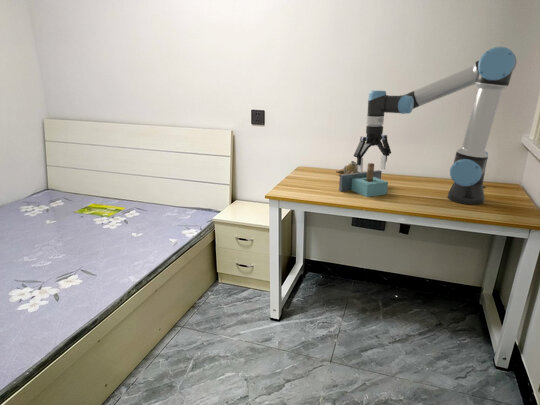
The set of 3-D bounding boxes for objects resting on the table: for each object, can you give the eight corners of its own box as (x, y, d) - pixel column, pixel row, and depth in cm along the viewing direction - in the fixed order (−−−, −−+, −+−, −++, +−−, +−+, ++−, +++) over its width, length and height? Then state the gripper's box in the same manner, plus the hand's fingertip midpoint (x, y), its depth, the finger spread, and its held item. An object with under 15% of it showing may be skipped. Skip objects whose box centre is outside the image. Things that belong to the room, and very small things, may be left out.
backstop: (380, 186, 202) (381, 170, 199) (341, 191, 192) (342, 175, 189) (377, 185, 203) (379, 170, 201) (338, 190, 194) (339, 174, 191)
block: (386, 194, 189) (388, 181, 187) (366, 197, 184) (367, 184, 182) (371, 187, 199) (372, 176, 197) (351, 190, 194) (352, 178, 193)
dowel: (373, 192, 191) (375, 164, 186) (368, 193, 190) (370, 165, 185) (369, 190, 194) (371, 162, 189) (364, 191, 192) (366, 163, 187)
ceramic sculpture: (368, 160, 218) (346, 165, 212) (368, 176, 221) (346, 180, 215) (356, 157, 227) (335, 161, 221) (356, 172, 230) (334, 176, 224)
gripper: (358, 127, 173) (354, 174, 180) (401, 124, 183) (397, 169, 190) (347, 125, 180) (345, 171, 186) (390, 123, 190) (386, 166, 196)
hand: (371, 170), depth 188 cm, fingers open, 13 cm apart
